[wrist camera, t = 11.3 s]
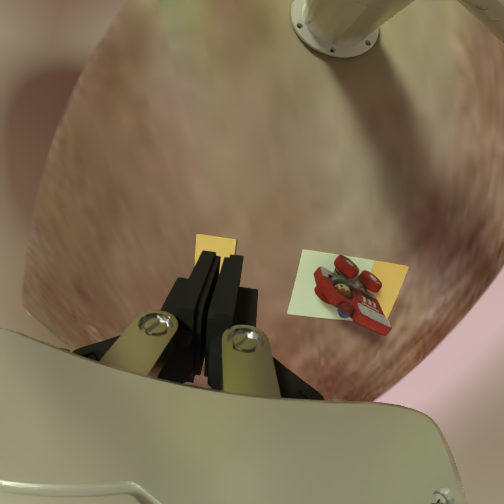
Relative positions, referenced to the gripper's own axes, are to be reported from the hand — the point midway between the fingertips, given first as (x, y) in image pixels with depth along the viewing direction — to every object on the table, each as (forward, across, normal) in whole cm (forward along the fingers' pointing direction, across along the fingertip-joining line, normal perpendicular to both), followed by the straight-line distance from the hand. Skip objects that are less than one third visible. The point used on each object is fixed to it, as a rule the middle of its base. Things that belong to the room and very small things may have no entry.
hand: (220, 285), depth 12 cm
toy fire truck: (+29, -17, +14) cm, 37 cm away
